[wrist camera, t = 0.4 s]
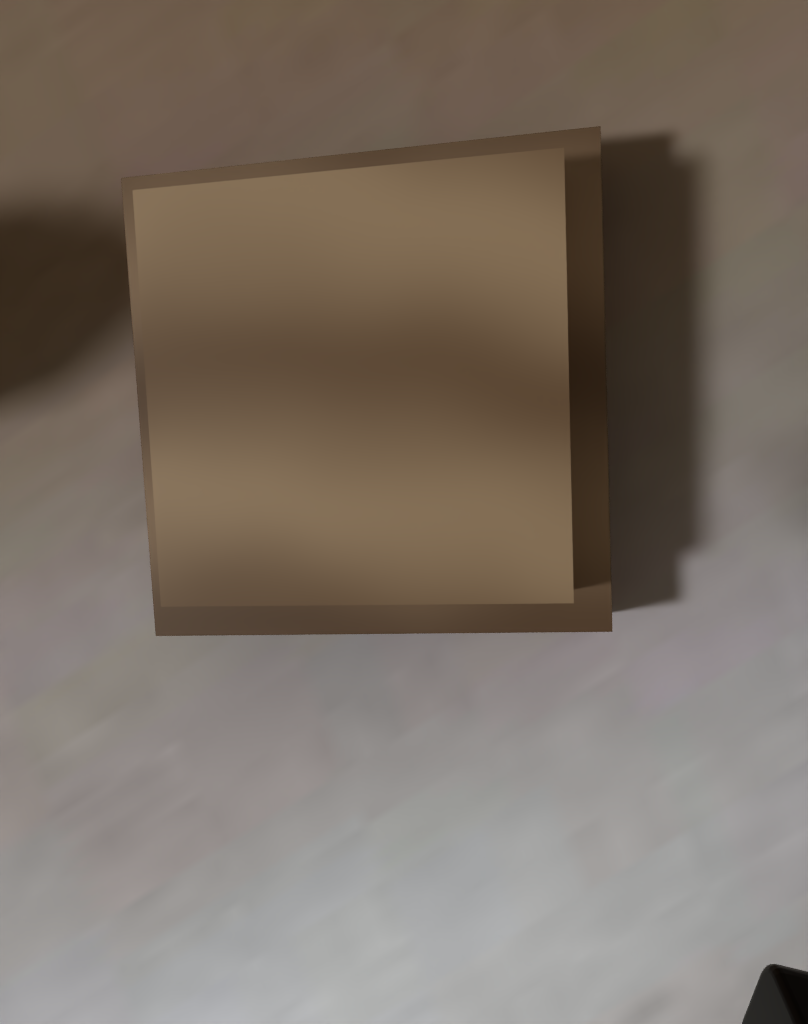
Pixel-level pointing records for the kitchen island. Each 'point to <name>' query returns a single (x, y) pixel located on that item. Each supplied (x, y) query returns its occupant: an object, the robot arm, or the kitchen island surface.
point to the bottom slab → (584, 400)
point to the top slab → (360, 385)
